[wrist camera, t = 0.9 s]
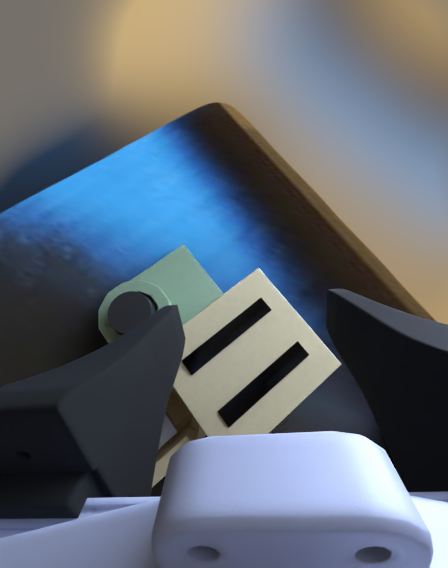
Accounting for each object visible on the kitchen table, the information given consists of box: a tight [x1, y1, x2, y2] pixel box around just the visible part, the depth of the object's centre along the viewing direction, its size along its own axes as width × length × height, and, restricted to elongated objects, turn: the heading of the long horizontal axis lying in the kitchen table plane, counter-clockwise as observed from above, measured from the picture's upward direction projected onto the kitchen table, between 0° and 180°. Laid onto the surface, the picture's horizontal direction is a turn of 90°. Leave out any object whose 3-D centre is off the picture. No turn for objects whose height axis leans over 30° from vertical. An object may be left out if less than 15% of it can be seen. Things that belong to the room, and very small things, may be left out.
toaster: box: [173, 268, 341, 437], centre depth 21 cm, size 10×9×10 cm
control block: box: [98, 244, 223, 344], centre depth 26 cm, size 12×8×4 cm
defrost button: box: [108, 291, 156, 334], centre depth 23 cm, size 4×4×2 cm
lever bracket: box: [152, 387, 206, 487], centre depth 20 cm, size 7×8×9 cm
